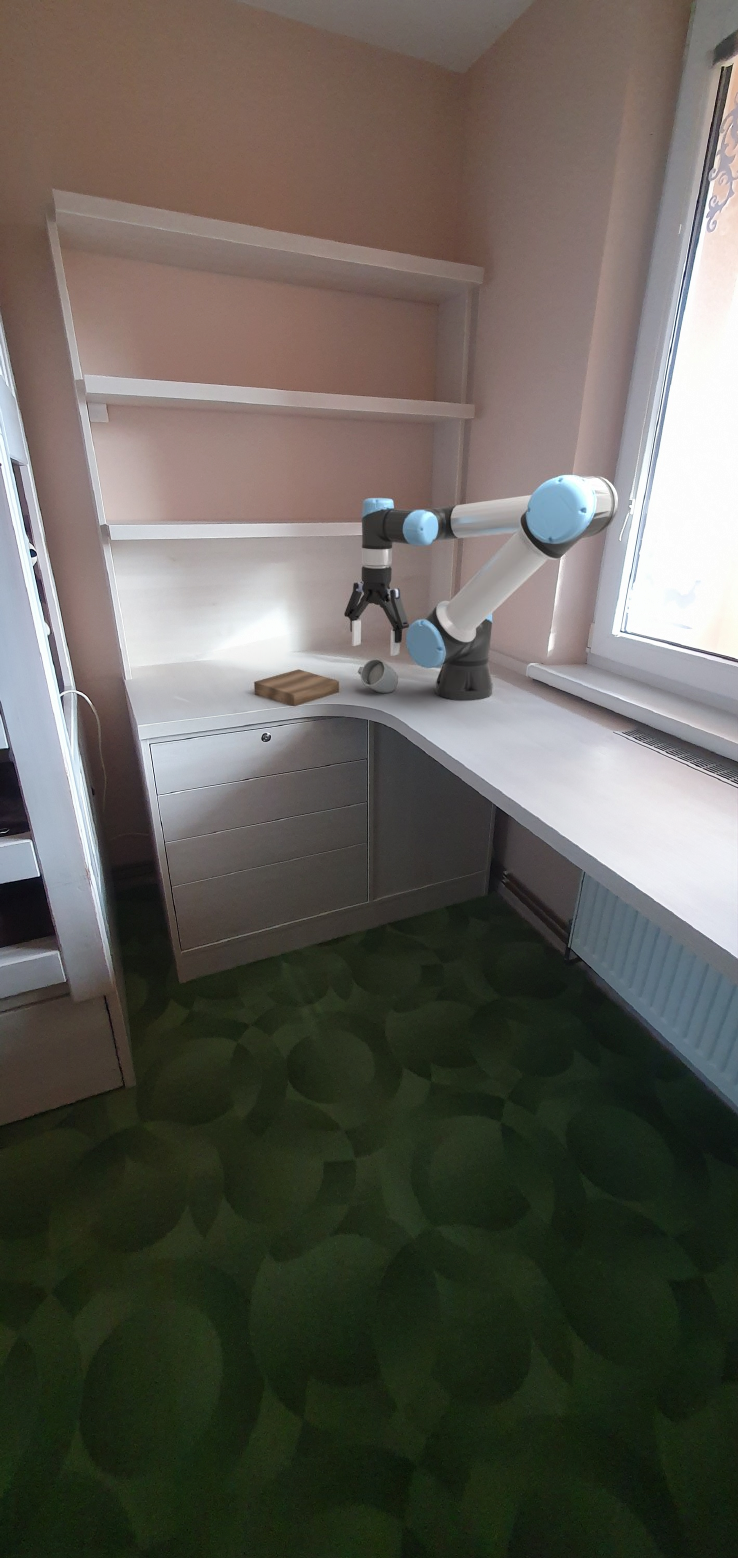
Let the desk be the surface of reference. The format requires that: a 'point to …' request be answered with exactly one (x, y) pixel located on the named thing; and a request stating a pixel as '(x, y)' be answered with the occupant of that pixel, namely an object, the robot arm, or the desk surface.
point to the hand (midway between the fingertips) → (375, 649)
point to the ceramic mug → (378, 676)
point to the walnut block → (296, 687)
